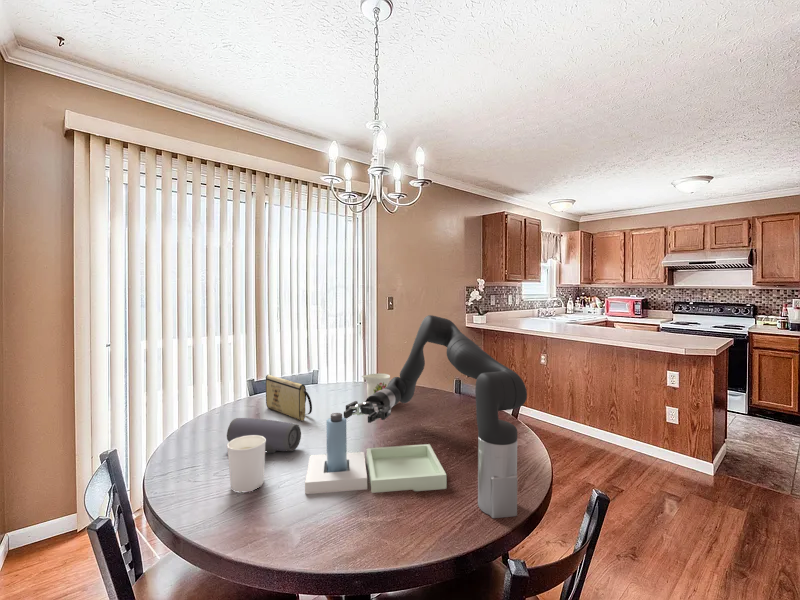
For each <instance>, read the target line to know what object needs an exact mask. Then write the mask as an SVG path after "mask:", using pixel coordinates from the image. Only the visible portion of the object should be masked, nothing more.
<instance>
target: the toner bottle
mask: <svg viewBox="0 0 800 600" xmlns="http://www.w3.org/2000/svg"><path fill="white" fill-rule="evenodd" d="M325 425H326V454H327V473H329V472H342V471H347V453H348V452H347V450H348V449H347V443H348V442H347V419H346V418H344V416H343V413H341V412H333V413H331V414H330V417H329V418H327V419H326V424H325Z"/></svg>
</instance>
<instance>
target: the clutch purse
mask: <svg viewBox="0 0 800 600" xmlns="http://www.w3.org/2000/svg"><path fill="white" fill-rule="evenodd" d="M307 400H308V404H309V411H308V413H306V402H307ZM265 403H266V407H267V409H271V410H272V411H273V410H274V411H276V412H278V413H281V414H283V415H287V416H288V415H289V417H290V418H294V419H296V418H297V420H299V421H301V422H303V421H304V420H305V419H306V415H310V414H312V412H313V404H312V400H311V396H310V395H309V393H308V392H307V389H306V385H305V384H302V383H299V382H295V381H291V380H288V379H284V378H281V377H277V376H274V375H271V374H267V375H265ZM302 420H303V421H302Z"/></svg>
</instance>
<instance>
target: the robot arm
mask: <svg viewBox="0 0 800 600" xmlns="http://www.w3.org/2000/svg"><path fill="white" fill-rule="evenodd" d="M427 343H430V344H435V345H438V346H439V345H440V346H443V347H445V348H446V357H447V359H448V361H449V363H450V364H451V365H452V366H453V367H454V368H455V369H456V370H457V371H458V372H459V373H460V374H463V375H464V376H466V377H469V378H472V379H474V380H476V381H475V386H474V387H475V392H474V394H475V408H476V409H475V410H476V411H475V413H476V424H477V425H476V426H477V432H478V433H477V437H478V438H477V439H478V440H477V441H478V443H477V447H478V449H477V470H478V471H477V507H478V508H479V509H480V510H481V512H483V513H484V514H487V515H488V516H490V517H491V518H492V519H500V518H510V517H511V518H512V517H517V516H518V429H517V427H516V426H515V425H514V424H512V423H511V422H509V421H506V420H502V419H499V412H500V411H501V412H502V411H511V410H516V409H518V408H521V407H523V406H524V405H525V404H526V402H527V398H528V392H527V391H528V390H527V387H526V384H525V382H524V380H523V379H522V378H521V376H520V375H519V374H518V373H517V372H515V371H514V370H512V369H511V368H509V367H508V366H505V365H504V364H502V363H501V362H499V361H498V360H496V359H495V358H493V357H492V356H491V355H490V354H488V353H487V352H486V351H484V350H483V349H482V348H481V347H480V346H479V345H478V344H476V343H475V342H474V341H473V340H471V339H470V338H469V337H468V336H467V335H465V334H464V333H463V332H462V331H461V330H460V329H459V328H458V327H457V325H456V324H455V323H454V322H453V321H452V320H450V319H448V318H444V317H439V316H436V315H433V314H429V315H427V316H425V317H424V318H423V319H422V320H421V324H420V326H419V328H418V331H417V333H416V337H415V338H414V342H413V344H412V348H411V350H410V353H409V356H408V357H407V360H406V361H405V364H404V365H403V367H402V368H401V369H400V372H399V376H394V377H393V378H390V380H391V381H390V380H389V381H390V382H389V384H388V386H387V387H386V388H384V389H383V390H379V391H378V392H376V393H374V394H372V395H370V396H369V397H368V396H367V398H366V400H365V401H364V402H362V403H358V400H355V401H352V402H350V403H348V404H346V405H345V410H344V411H343V418H346V420H347V419H349V418H350V417H351V416H354V415H356V416H362V415H363V416H364V415H365V416H367V423H368V424H369V423H372V422H374V421H379V419H380V420H382V421H384V420H386V419H388V417H389V416H391V415H392V414H391V413H392V408H393V407H395V406H396V405H397V404H398V403H402V404H407V403H409V402H410V401H411V400H412V399H413V397H414V394H415V390H416V386H417V382H418V380H419V378H420V377H421V375H422V373H423V372H424V369H425V365H426V361H425V354H424V347H425V345H426V344H427Z"/></svg>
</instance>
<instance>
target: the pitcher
mask: <svg viewBox="0 0 800 600" xmlns="http://www.w3.org/2000/svg"><path fill="white" fill-rule="evenodd" d="M361 377H362V379H365V381H366V382H367V384H366V395H367V398H368V397H369V396H370V395H372V394H374V393H376V392H378V391H379V390H383V389H384V388H386V387H387V386H388V384H389V382H390V381H391V375H390V374H388V373H369V374H365V375H361Z"/></svg>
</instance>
